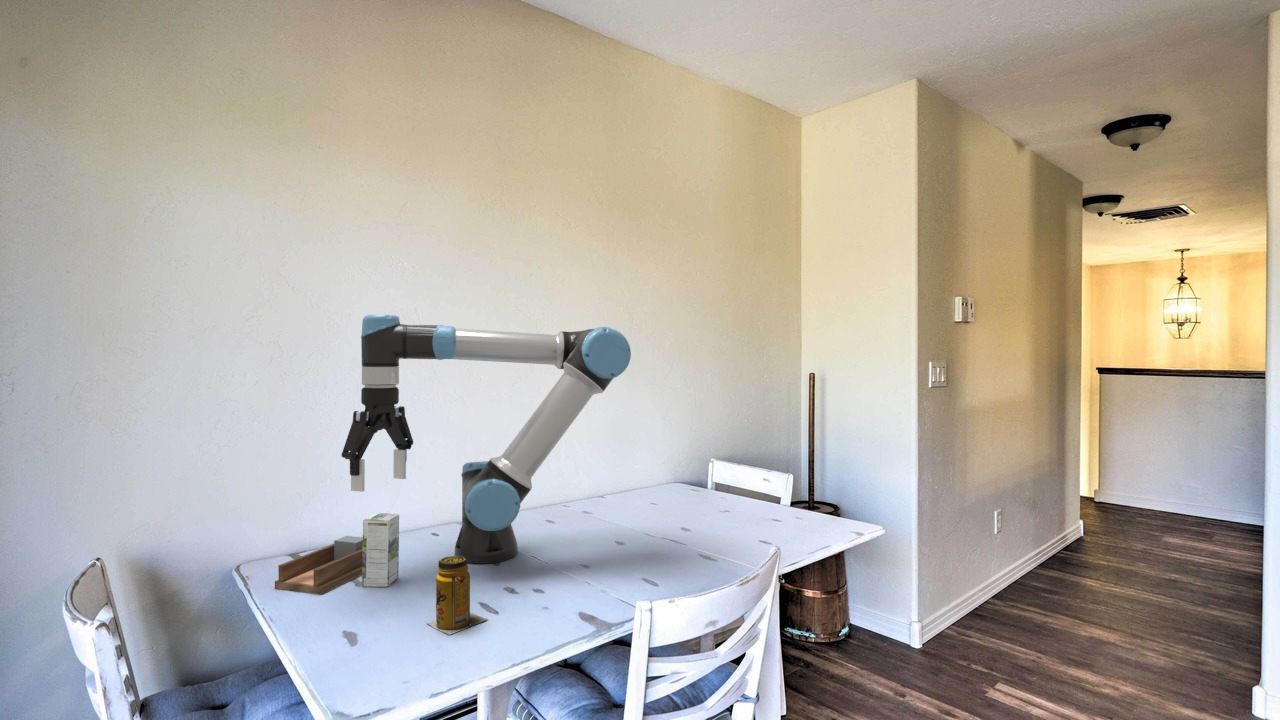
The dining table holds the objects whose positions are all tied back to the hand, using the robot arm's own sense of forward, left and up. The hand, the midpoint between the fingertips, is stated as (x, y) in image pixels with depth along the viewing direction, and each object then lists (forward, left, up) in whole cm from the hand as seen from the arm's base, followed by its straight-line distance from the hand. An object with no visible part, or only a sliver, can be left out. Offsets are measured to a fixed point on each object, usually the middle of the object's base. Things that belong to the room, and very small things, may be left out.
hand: (379, 484), depth 140 cm
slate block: (+13, -6, -20) cm, 24 cm away
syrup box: (0, 0, -22) cm, 22 cm away
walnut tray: (+13, 0, -21) cm, 25 cm away
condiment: (-27, +13, -22) cm, 37 cm away
